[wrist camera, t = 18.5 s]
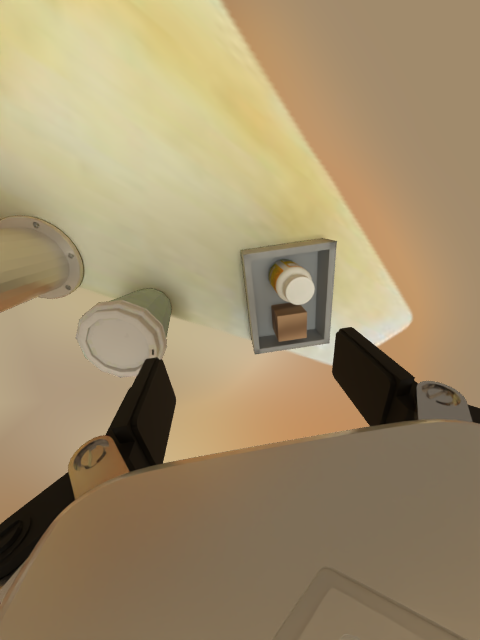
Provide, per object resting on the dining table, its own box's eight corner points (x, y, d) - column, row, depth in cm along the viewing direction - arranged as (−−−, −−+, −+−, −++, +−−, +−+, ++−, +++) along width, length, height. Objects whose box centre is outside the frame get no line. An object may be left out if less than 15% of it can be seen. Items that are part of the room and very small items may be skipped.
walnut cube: (271, 305, 39) (277, 316, 35) (297, 301, 39) (307, 312, 35) (272, 328, 41) (278, 341, 37) (297, 324, 42) (306, 337, 37)
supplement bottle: (290, 252, 35) (312, 263, 27) (301, 279, 38) (325, 298, 29) (262, 268, 36) (274, 283, 27) (274, 294, 38) (289, 315, 30)
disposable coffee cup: (124, 325, 40) (74, 380, 26) (120, 269, 35) (57, 300, 22) (181, 332, 41) (161, 387, 28) (184, 279, 37) (162, 314, 23)
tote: (251, 340, 43) (254, 354, 39) (240, 250, 35) (243, 254, 31) (318, 330, 43) (329, 343, 39) (322, 238, 35) (336, 241, 31)
